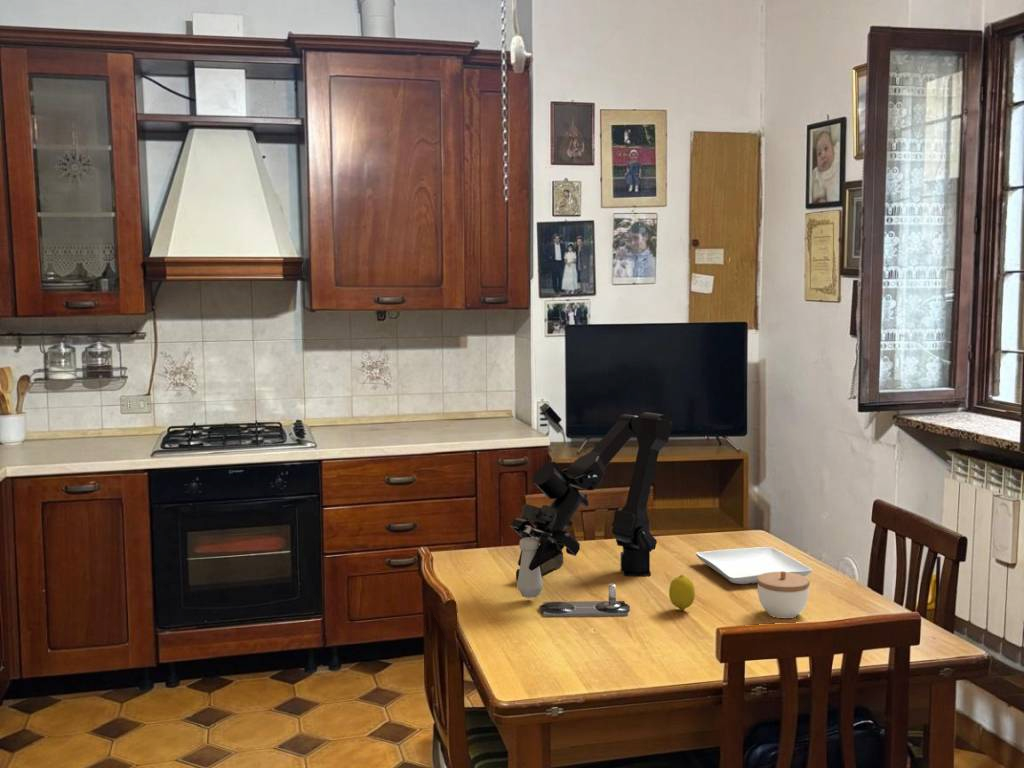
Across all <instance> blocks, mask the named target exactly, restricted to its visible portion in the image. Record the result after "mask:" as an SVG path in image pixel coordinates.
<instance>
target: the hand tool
mask: <svg viewBox="0 0 1024 768" xmlns="http://www.w3.org/2000/svg"><path fill="white" fill-rule="evenodd" d="M561 552H562V553H563V554H562V555H558V556H556V557H554V558H552V559H550V560H549V561H547V562H545V563H544V564H542V565H540V571H541V576H543V575H544V574H546V573H548V572H550V571H553V570H555V571H557V570H559V569H560V568H561V567H562V566H563V565H564V552H563V550H562V551H561ZM519 570H520V568H517V569H516V571H515V580H516V582H518V576H519Z"/></svg>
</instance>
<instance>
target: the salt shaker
mask: <svg viewBox="0 0 1024 768" xmlns="http://www.w3.org/2000/svg"><path fill="white" fill-rule="evenodd" d="M539 545H540V541H539V539H538V540H537V539H536V538H533V537H526V538H522V537H521V539H519V549H520V551H521V550H522V556H521V564H520V566H519V569H520V570H519V576H518V582H517V581H516V582H517V583H516V586H517V589H518V591H519V593H520V595H521V596H522V598H527V599H532V598H537V597H539V596H540V593H541V592H542V589H543V585H544V582H543V577H542V576H543V575H541V571H540V566H539V567H537V568H536V569H534V570H532V571H531V570H530V569H529V565H530V563H531V561H532V559H533V557H534V556H535V554H536V552H537V551H536V549H538V546H539Z"/></svg>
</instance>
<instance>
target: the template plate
mask: <svg viewBox="0 0 1024 768" xmlns="http://www.w3.org/2000/svg"><path fill="white" fill-rule="evenodd" d="M606 602H609V600H589V601H588V600H587V601H586V600H585V601H583V600H582V601H579V600H577V601H574V600H573V601H543V602H542V604H541V605H540V606H539V612H540V613H541V614H543V617H544V618H545V617H546V618H547V617H548V618H551V617H555V618H557V617H563V618H565V617H628V616H629V612H630V611H631V606H630V605H629V604H628V603H625V600H616V602H618V603H620V604H621V608H619V609H616V610H609V609H606V608H604V603H606Z"/></svg>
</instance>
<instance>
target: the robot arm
mask: <svg viewBox="0 0 1024 768" xmlns="http://www.w3.org/2000/svg"><path fill="white" fill-rule="evenodd" d="M672 429H673V422H672V421H671V418H670V417H669V416H668V415H666V414H663V413H662V414H660V413H654V412H643V413H641V414H640V415H633V414H626V413H624V414H622V415H619V417H618V418H617V421H616V423H615V424H614V425H613V426H612V427H611V428H610V429H609V430H608V431H607V433H606V434H605V435H604V436H603V437H602V438H601V439H600V440H599V442H598V443H597V444H596V445H595V446H594V447H593V449H591V451H589V452H588V453H587V454H585V455H582V456H580V457H578V458H577V459H576V460H574V461H573V462H571V463H570V465H568V467H567V468H564V469H561V467H560V465H559V464H558V463H557V462H556V461H552V460H549V461H548V463H547V464H544V465H542V466H541V467H539V468H538V469H537V470H535V471H534V473H533V475H532V479H531V480H532V483H533V485H535V486H536V488H538V489H539V490H540V492H542V493H543V494H544V495H545V496H546V497H547V498H548V499H551V500H552V501H551V503H550V504H549V505H547V504H543V505H542V506H541V507H537V506H535V505H531V504H528V503H527V504H526V503H524V505H523V507H522V511H521V513H520V517H517V518H514V519H513V520H512V522H511V524H510V525H509V527H510V528H511V529H512V530H513V531H515V532H516V533H517V535H518V536H520V537H521V539H522V538H526V537H533V538H536V539H537V540H538V541H539V546H538V549H536V551H537V552H536V554H535V556H534V557H533V559H532V561H531V563H530V565H529V569H530V570H531V571H532V570H534V569H536V568H537V567H539V566H540V565H542V564H544V563H545V562H547V561H549V560H550V559H552V558H554V557H556V556H558V555H562V554H563V555H564V552H563V549H564V547H565V552H566V554H568V555H571V556H573V557H576V556H577V554H578V553H579V552H580V550H581V547H580V544H581V543H579V541H578V540H576V539H575V538H574V536H573V535H572V534H571V533H570V532H568V531H565V529H566V527H572V526H573V522H572V521H571V519H572V518H573V516H574V515H575V513H576V511H577V510H578V509H579V506H580V505H581V506H585V507H588V506H589V500H588V494H587V493H584V492H581V491H580V490H579V489H581V490H586V491H594V490H596V489H597V488H598V487H599V486H600V485H599V484H601V481H602V480H603V479H604V477H605V476H606V468H607V466H608V465H609V464H610V462H611V461H613V459H614V457H615V456H617V454H619V452H620V451H621V449H622V448H623V447H624V446H625V445H626V444H627V442H628V441H629V440H630V439H631V438H632V437H633V436H634V434H635V438H636V442H637V446H638V448H637V454H636V457H635V458H636V459H635V463H634V467H633V470H632V471H633V472H632V475H631V480H630V484H629V489H628V494H627V498H626V502H625V505H624V506H623V507H622V508H621V509H620V510H619V509H616V510H615V511H614V513H613V514H614V517H613V520H612V523H611V525H610V526H611V527H612V531H611V532H612V533H611V534H612V535H613V537H614V538H615V542H616V545H617V546H618V547H622V551H621V552H620V557H619V558H620V560H619V561H620V571H621V572H622V574H623V576H625V577H626V576H629V577H631V576H634V577H635V576H636V577H637V576H651V575H652V572H651V569H650V568H651V565H650V564H651V563H650V562H651V561H650V560H651V559H650V558H651V553H650V552H652V551H654V550H655V549H656V547H657V543H658V541H657V539H656V538H655V537H654V536H653V534H651V532H650V531H649V528H650V519H649V515H648V512H647V506H648V501H649V497H650V493H651V492H650V491H651V488H652V484H653V478H654V474H655V472H656V471H655V470H656V466H657V463H658V462H657V461H658V457H659V454H660V453H659V452H660V451H661V450H662V449H663V447H664V446H666V444H667V443H668V442H669V439H670V436H671V433H672ZM527 519H528V520H527ZM530 521H531V522H530ZM561 551H562V552H563V553H562V552H561ZM521 556H522V550H521V549H520V555H519V557H518V558H519V559H518V562H517V565H518V566H519V567H520V564H521Z"/></svg>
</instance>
